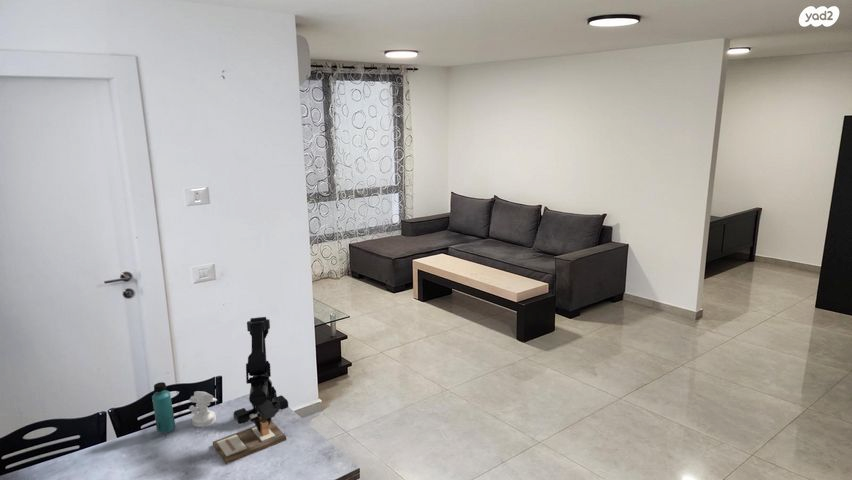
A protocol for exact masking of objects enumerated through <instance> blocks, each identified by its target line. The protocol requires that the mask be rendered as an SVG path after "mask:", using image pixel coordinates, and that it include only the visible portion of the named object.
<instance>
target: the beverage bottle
mask: <svg viewBox="0 0 852 480" xmlns="http://www.w3.org/2000/svg"><path fill="white" fill-rule="evenodd" d="M153 391H154V393H153V395H151V400H152V406H153V414H154V419H155V420H154V421H155V427H156V428H155V429H156V431H157V432H158V433H160V434H166V433H169V432H172V431H173V430H174V429H175V427H176V421H175V415H174V409H173V404H172V402H173V401H172V396H171V392H170V391H169V390H167V384H166V382H163V381H162V382H160V381H159V382H157V383H155V384H154V385H153Z"/></svg>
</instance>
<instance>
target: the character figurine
mask: <svg viewBox="0 0 852 480" xmlns="http://www.w3.org/2000/svg"><path fill="white" fill-rule="evenodd" d="M188 401H189V402H190V403H196V404H195V405H193V404H192V405H190V406H189V407H188V410H189V411H191V414H194V415H193V416H192V417H191V421H192V425H193V426H194V427H195V428H204V427H208V426H210V425H212V424H214V423H215V422H216V420H217V418H216V416H217V415H216V412H214V411H213V410H210V409H209V407H208V406H210V405H211V403H212V402H217V401H218V399H217V398H215V397H214V395H212V394H210V393H208V392H206V391H199V390H197V391H194V392H193V395H191V396H190V398H189V400H188Z"/></svg>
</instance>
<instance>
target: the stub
mask: <svg viewBox="0 0 852 480" xmlns="http://www.w3.org/2000/svg"><path fill="white" fill-rule="evenodd" d="M259 424H260V432H259V431H258V429H257V427H255V428H252V431H253V432H254V433H255V434H256V435H257V437H258V438H259V439H260V440H261V441H264V440H267V439H269V438H272V437H274V436H275V435H274V433H273V432H272V431H271V430H270V429H269V424H268V421H267V420H262V418H261V417H259Z"/></svg>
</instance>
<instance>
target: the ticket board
mask: <svg viewBox="0 0 852 480" xmlns="http://www.w3.org/2000/svg"><path fill="white" fill-rule="evenodd" d="M255 427H256V425H255V424H254V425H252V426H250V427H247V428H244V429H241V430H238V431H237V432H235V433H233V434H230V435H227V436H224V437H221V438H219V439H216V440H214V441H212V446H213V447H214V449H215V451H216V452H217V454H218V455H219V456H220V458H221V459H222V461H223V463H225V465H228V464H230V463H233V462H235V461H238V460H241V459H243V458H245V457H247V456H250V455H253V454H255V453H258V452H260V451H262V450H265V449H268V448H270V447H272V446H275V445H278V444H279V443H280V444H281V443H283V442H285V441H287V436H286V433H285V432H283V431H282V430H281V429H280V428H279V427H278V426H277V425H276V424H275V423H274V422H273V419H272V418H271V421H270V424H269V429H270V430H271V431H272V432H273V433H274V435H275V436H274V437H272V438H269V439H267V440H264V441H261V440H260V439H259V438H258V437H257V435H256V434H255V433H254V432H253V431H252V428H255Z"/></svg>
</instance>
